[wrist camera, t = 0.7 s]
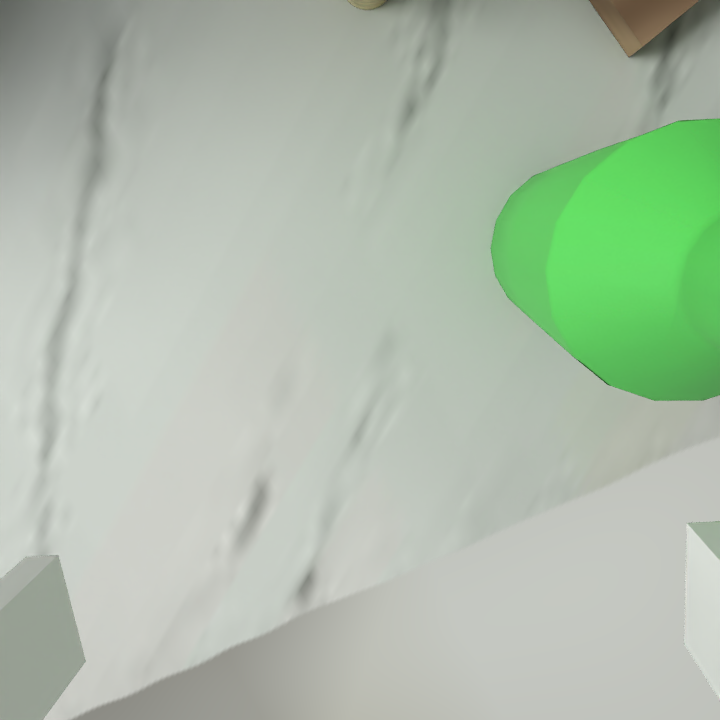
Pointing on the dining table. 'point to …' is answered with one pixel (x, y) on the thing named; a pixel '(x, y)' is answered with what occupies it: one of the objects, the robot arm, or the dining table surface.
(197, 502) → the dining table surface
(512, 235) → the bottle
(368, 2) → the peg
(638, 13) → the keyhole board
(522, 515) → the dining table surface
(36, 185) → the dining table surface
